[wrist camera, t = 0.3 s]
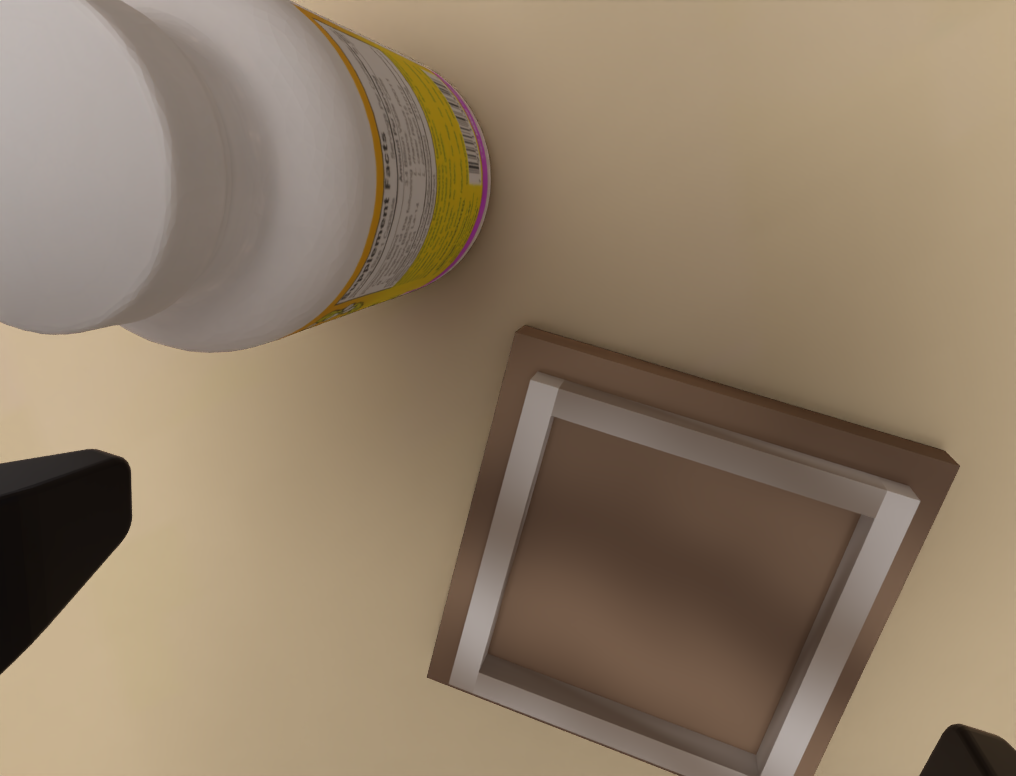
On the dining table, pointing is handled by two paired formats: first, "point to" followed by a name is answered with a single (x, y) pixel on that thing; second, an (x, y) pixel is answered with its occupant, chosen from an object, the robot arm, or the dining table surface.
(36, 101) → the supplement bottle
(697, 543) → the seat plate
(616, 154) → the dining table surface
